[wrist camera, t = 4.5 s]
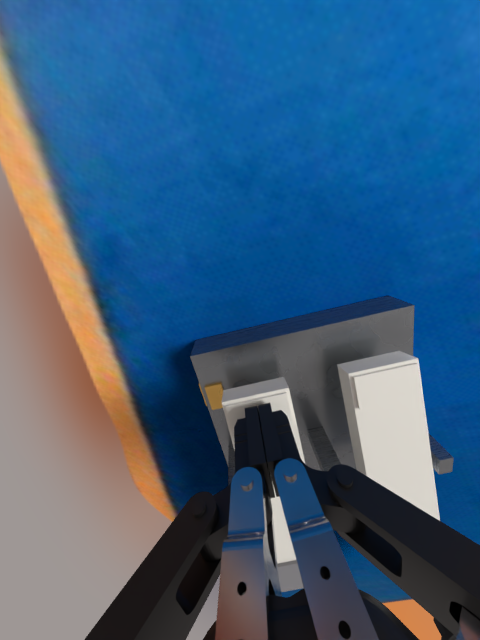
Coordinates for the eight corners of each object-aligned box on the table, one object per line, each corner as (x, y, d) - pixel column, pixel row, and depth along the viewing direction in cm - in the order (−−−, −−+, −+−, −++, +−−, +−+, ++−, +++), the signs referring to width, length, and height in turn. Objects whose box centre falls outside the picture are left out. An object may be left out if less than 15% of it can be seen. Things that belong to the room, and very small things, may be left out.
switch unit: (192, 340, 18) (172, 398, 12) (388, 295, 18) (479, 329, 11) (244, 494, 24) (249, 587, 18) (390, 464, 24) (450, 548, 17)
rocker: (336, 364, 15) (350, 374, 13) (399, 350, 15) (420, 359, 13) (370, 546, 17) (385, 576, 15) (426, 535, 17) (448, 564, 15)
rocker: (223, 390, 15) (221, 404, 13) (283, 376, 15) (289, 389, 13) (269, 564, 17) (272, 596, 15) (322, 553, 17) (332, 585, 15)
